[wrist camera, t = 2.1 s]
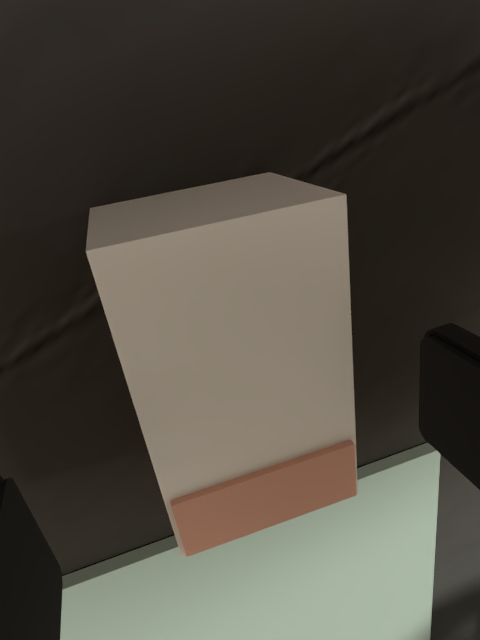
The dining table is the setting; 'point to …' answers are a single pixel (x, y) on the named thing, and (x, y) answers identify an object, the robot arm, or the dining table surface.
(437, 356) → the robot arm
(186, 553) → the card deck
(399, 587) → the mat
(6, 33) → the dining table surface
